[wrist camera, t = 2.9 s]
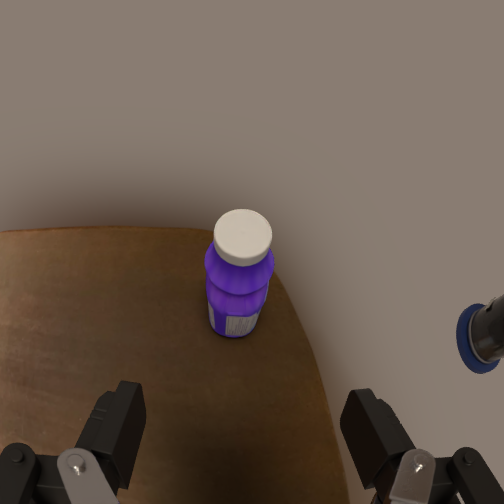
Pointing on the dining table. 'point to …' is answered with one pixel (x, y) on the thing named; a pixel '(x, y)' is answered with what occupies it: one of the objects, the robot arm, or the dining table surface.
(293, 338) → the dining table surface
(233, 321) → the bottle
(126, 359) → the dining table surface
